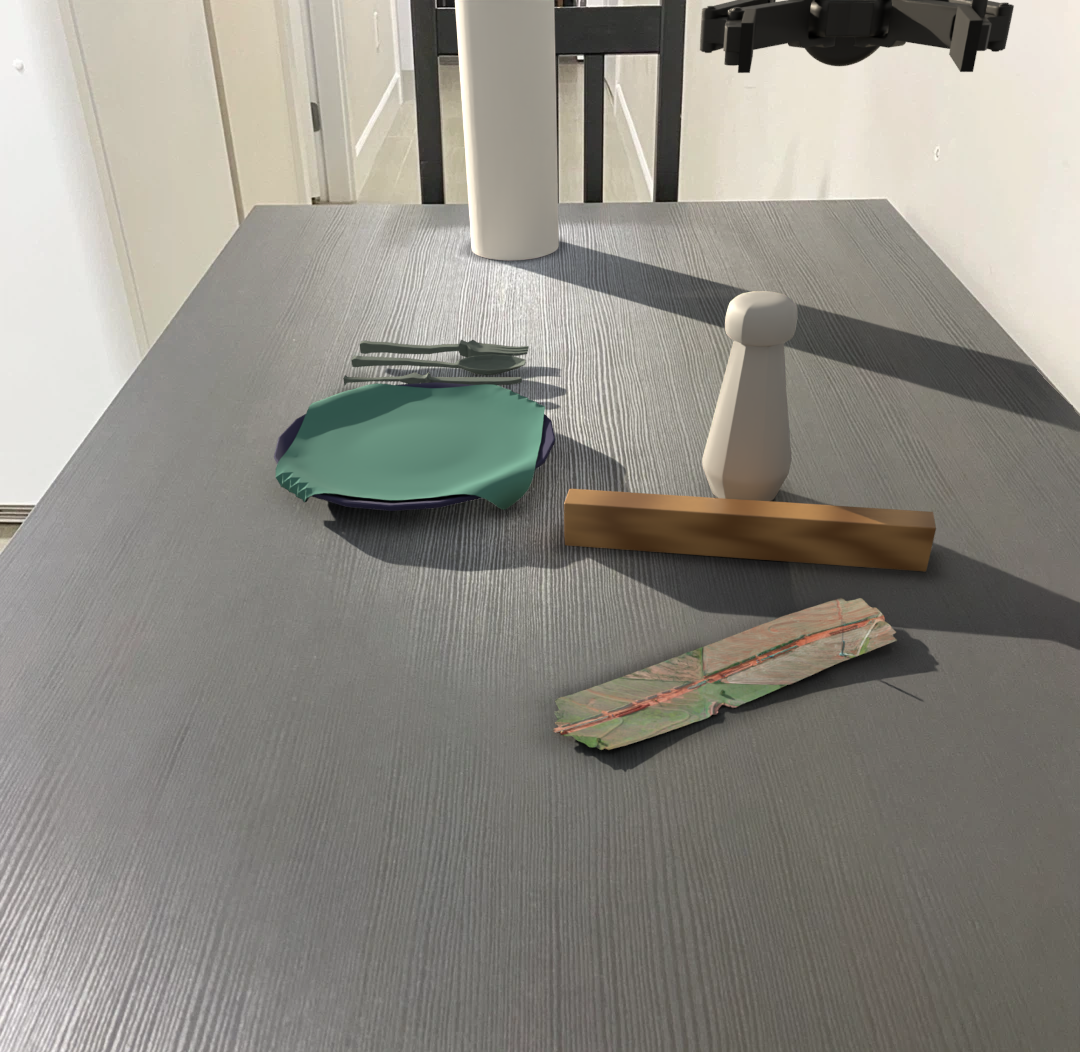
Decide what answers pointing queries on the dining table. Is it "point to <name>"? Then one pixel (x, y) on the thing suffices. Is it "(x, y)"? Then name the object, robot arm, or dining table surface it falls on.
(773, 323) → the salt shaker
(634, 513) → the long wooden block
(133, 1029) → the dining table surface
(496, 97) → the cylinder container
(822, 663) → the map
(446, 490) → the cutlery set
